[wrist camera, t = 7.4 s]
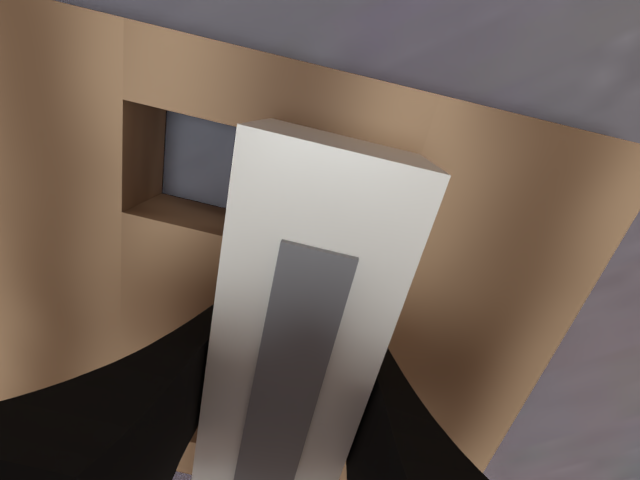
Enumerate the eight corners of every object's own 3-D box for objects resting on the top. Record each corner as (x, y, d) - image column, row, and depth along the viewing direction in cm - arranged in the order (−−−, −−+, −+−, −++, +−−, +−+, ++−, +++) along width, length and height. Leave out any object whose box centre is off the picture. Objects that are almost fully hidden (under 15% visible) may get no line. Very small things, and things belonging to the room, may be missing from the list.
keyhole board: (26, 382, 17) (-24, 425, 14) (-21, -11, 11) (-119, -42, 8) (433, 476, 17) (446, 533, 15) (607, 142, 11) (674, 152, 9)
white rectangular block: (317, 437, 16) (304, 576, 11) (230, 416, 16) (181, 548, 11) (408, 146, 11) (452, 176, 6) (283, 116, 11) (234, 124, 6)
